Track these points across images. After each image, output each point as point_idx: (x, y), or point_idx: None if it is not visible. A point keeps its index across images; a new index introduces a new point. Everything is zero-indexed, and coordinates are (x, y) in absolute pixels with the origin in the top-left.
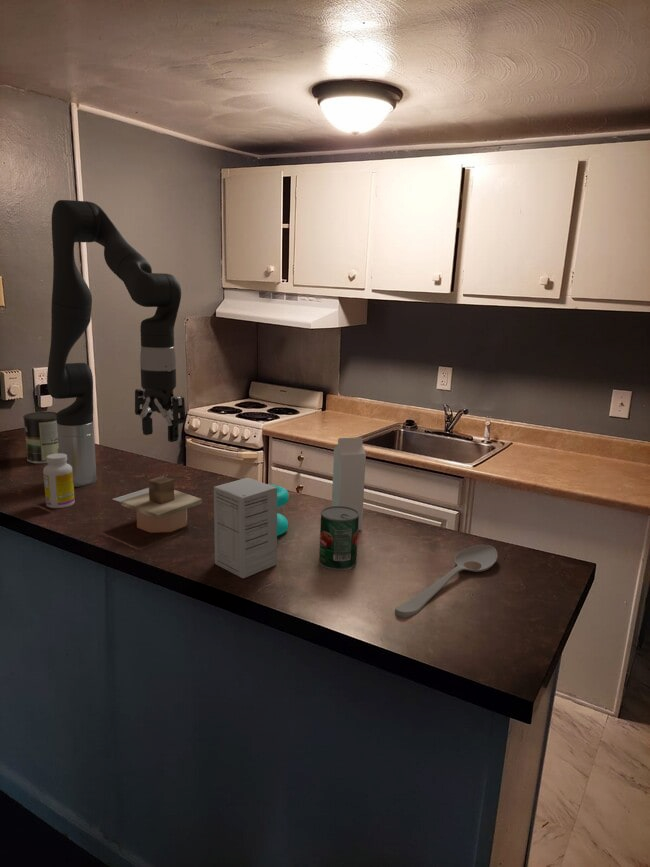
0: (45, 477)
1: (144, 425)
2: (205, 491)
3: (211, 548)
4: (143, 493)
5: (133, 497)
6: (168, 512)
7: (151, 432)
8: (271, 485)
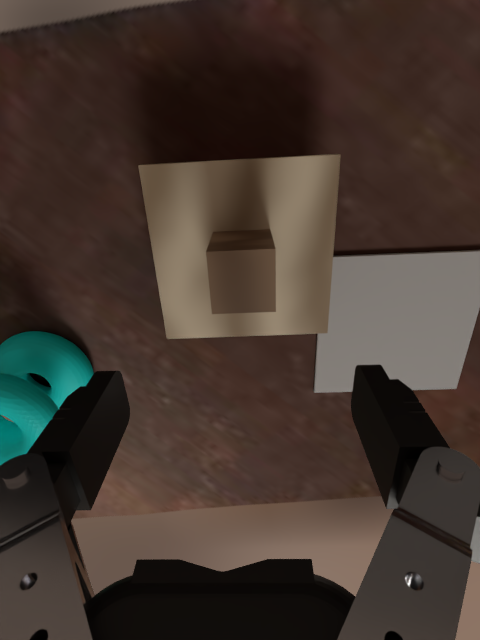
0: None
1: (383, 408)
2: (329, 427)
3: (33, 222)
4: (445, 330)
5: (334, 209)
6: (147, 209)
7: (353, 411)
8: None
